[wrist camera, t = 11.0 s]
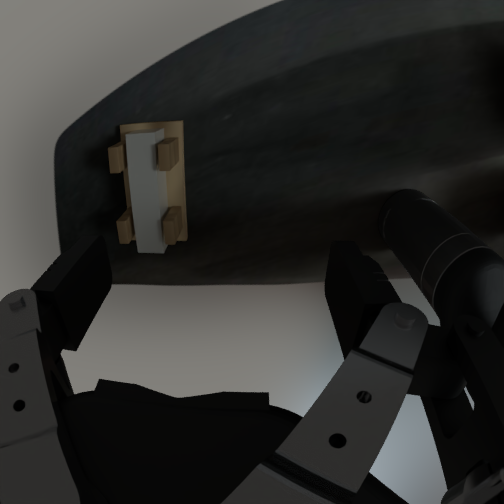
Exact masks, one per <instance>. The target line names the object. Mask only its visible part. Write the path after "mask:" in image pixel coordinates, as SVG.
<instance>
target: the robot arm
mask: <svg viewBox="0 0 504 504" xmlns="http://www.w3.org/2000/svg"><path fill="white" fill-rule="evenodd" d="M378 225H379V231H380V234H381V236H382V238H383V239H384V241H385V242H386V243H387V245H388V246H389V247H390V249H391V250H392V251H393V253H394V254H395V256H396V257H397V258H398V260H399V261H400V262H401V264H402V265H403V266H404V268H405V269H406V271H407V272H408V273H409V275H410V276H411V278H412V279H413V280H414V282H415V283H416V285H417V286H418V288H419V289H420V290H421V292H422V293H423V295H424V296H425V298H426V299H427V300H428V302H429V304H430V305H431V307H432V308H433V309H434V311H435V312H436V314H437V316H438V317H439V319H440V326H435V325H430V324H428V320H427V318H426V316H425V315H424V313H422V311H420V310H419V309H417V308H416V307H414V306H412V305H410V304H406V303H402V301H401V300H400V298H399V296H398V295H397V293H396V291H395V289H394V288H393V286H392V284H391V283H390V281H388V278H387V276H386V275H385V274H384V271H383V270H382V268H381V267H380V265H379V263H377V262H376V261H375V260H373V259H372V258H371V257H369V256H363V255H362V253H361V251H360V250H359V248H358V246H357V245H356V243H355V242H354V241H333V242H332V244H331V248H330V254H329V260H328V266H327V272H326V278H325V297H326V300H327V303H328V306H329V310H330V313H331V316H332V319H333V322H334V326H335V329H336V333H337V336H338V339H339V342H340V346H341V350H342V353H343V357H344V362H343V363H342V365H341V366H340V368H339V369H338V371H337V372H336V374H335V375H334V376H333V378H332V379H331V381H330V382H329V383H328V385H327V386H326V388H325V389H324V390H323V392H322V393H321V395H320V396H319V397H318V399H317V400H316V401H315V403H314V404H313V405H312V407H311V408H310V409H309V411H308V412H307V413H306V414H305V416H304V417H301V416H299V415H298V414H296V413H293V412H291V411H289V410H286V409H282V408H280V407H276V406H272V405H269V393H268V392H267V393H266V392H265V393H264V392H262V393H261V392H260V393H257V392H255V393H254V392H219V393H212V394H206V395H199V396H192V397H184V398H176V397H172V396H169V395H166V394H163V393H159V392H157V391H153V390H151V389H148V388H145V387H143V386H140V385H137V384H130V383H123V382H116V381H110V380H104V379H99V381H98V383H97V386H96V388H95V391H87V392H82V393H78V394H74V392H73V389H72V386H71V383H70V380H69V377H68V374H67V371H66V367H65V364H64V361H63V358H62V356H61V354H60V353H61V351H62V350H63V349H65V350H71V351H77V348H78V347H79V345H80V343H81V341H82V339H83V337H84V336H85V334H86V332H87V330H88V328H89V326H90V324H91V323H92V321H93V319H94V317H95V315H96V314H97V312H98V310H99V308H100V307H101V305H102V303H103V301H104V299H105V298H106V296H107V294H108V293H109V291H110V289H111V285H112V272H111V267H110V262H109V258H108V253H107V247H106V242H105V239H104V237H103V236H99V235H83V236H82V237H81V238H80V239H79V240H78V241H77V242H76V243H75V244H74V245H73V246H72V247H71V248H70V249H69V250H67V251H66V252H64V253H62V254H61V255H60V256H59V257H58V258H57V259H56V260H55V261H54V262H53V264H51V265H50V267H49V268H48V269H47V271H45V272H44V273H43V275H42V276H41V277H40V278H39V279H38V280H37V282H36V283H35V284H34V285H33V286H32V287H31V289H20V290H17V291H14V292H11V293H10V294H8V295H6V296H5V297H4V298H3V299H2V300H1V301H0V504H409V503H407V502H406V501H405V500H403V499H402V498H401V497H399V496H398V495H397V494H396V493H394V492H393V491H392V490H391V489H389V488H388V487H387V486H385V485H384V484H383V483H381V482H380V481H379V480H378V479H377V478H376V477H374V476H373V475H372V474H371V473H369V470H370V469H371V467H372V465H373V463H374V461H375V459H376V458H377V456H378V454H379V452H380V449H381V448H382V446H383V444H384V442H385V440H386V438H387V436H388V434H389V431H390V430H391V427H392V425H393V423H394V421H395V419H396V417H397V414H398V412H399V410H400V408H401V405H402V403H403V401H404V398H405V396H406V394H411V395H418V396H420V397H421V400H422V403H423V406H424V409H425V412H426V415H427V418H428V421H429V424H430V427H431V431H432V434H433V437H434V441H435V444H436V448H437V451H438V455H439V458H440V462H441V466H442V469H443V473H444V477H445V481H446V485H447V489H448V491H447V492H446V493H445V495H444V496H443V498H442V500H441V504H504V260H503V259H502V258H501V257H500V256H499V255H498V254H497V253H496V252H495V251H493V250H492V249H491V248H490V247H489V246H488V245H487V244H486V243H484V242H483V241H482V240H481V239H480V238H479V237H477V236H476V235H475V234H474V233H473V232H471V231H470V230H469V229H468V228H467V227H466V226H465V225H464V224H462V223H461V222H460V221H459V220H458V219H456V218H455V217H454V216H453V215H451V214H450V213H449V212H448V211H446V210H445V209H444V208H442V207H441V206H440V205H438V204H437V203H436V202H434V201H433V200H431V199H430V198H429V197H427V196H426V195H425V194H423V193H422V192H420V191H417V190H412V189H408V190H403V191H400V192H398V193H396V194H394V195H393V196H392V197H391V198H389V199H388V200H387V202H386V203H385V204H384V206H383V208H382V210H381V212H380V216H379V222H378ZM465 386H466V388H467V390H468V392H469V394H470V396H471V398H472V400H473V401H474V410H473V409H472V407H471V404H470V402H469V399H468V397H467V395H466V393H465V390H464V388H465Z"/></svg>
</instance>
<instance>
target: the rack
mask: <svg viewBox="0 0 504 504" xmlns="http://www.w3.org/2000/svg"><path fill="white" fill-rule="evenodd" d="M155 128H164V141H163V142H161V143H160V144H158V156H159V171H166V184H167V199H168V212H169V213H168V214H167V216H166V217H165V219H164V221H163V226H164V236H165V244H166V245H175V244H176V241H187V238H188V233H187V216H186V197H185V174H184V140H183V120H180V121H159V122H144V123H132V124H122V125H120V133H121V142H119V143H117V144H115V145H113V146H111V147H109V148H108V154H109V165H110V173H120V172H121V171H123V173H124V183H125V193H126V202H127V210H126V211H125V212H124V213H123V215H122V216H121V217H120V218H119V219H118V220H117V221H116V222H117V229H118V235H119V241H120V244H129V242H130V241H131V240H136V235H135V228H134V220H133V212H132V204H131V195H130V185H129V175H128V163H127V150H126V134H128V133H130V132H133V131H135V130H140V129H155Z"/></svg>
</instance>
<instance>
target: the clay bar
mask: <svg viewBox="0 0 504 504" xmlns="http://www.w3.org/2000/svg"><path fill="white" fill-rule="evenodd" d="M163 141H164V128H155V129H140V130H135V131H133V132H130V133H128V134H126V150H127V163H128V175H129V185H130V195H131V204H132V212H133V220H134V228H135V235H136V242H137V248H138V253H164V252H165V250H166V248H167V246H168V245H166V244H165V236H164V226H163V221H164V219H165V217H166V216H167V214H168V213H169V212H168V199H167V184H166V171H159V156H158V144H160V143H161V142H163Z"/></svg>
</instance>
